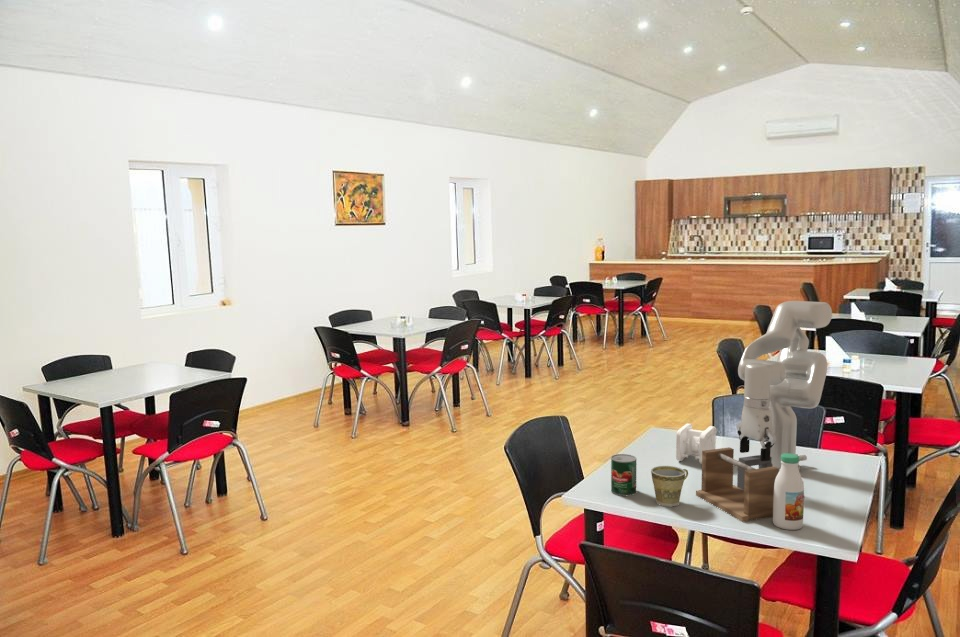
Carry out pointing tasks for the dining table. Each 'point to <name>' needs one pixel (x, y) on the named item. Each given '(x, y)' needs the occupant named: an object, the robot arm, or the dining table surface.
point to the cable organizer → (694, 442)
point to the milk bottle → (788, 494)
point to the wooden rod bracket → (730, 497)
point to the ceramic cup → (668, 484)
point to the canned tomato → (623, 474)
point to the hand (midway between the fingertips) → (754, 456)
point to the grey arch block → (750, 462)
